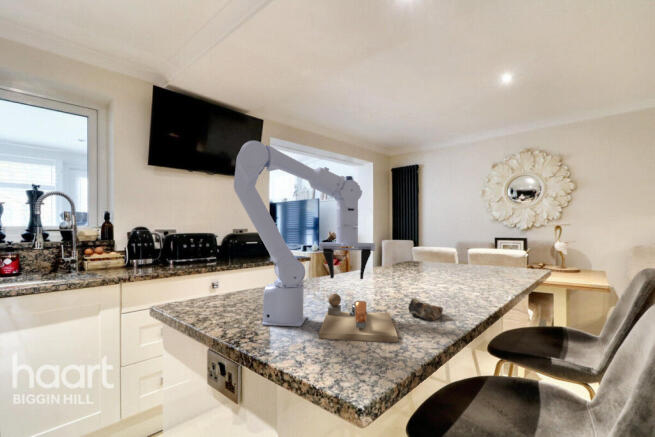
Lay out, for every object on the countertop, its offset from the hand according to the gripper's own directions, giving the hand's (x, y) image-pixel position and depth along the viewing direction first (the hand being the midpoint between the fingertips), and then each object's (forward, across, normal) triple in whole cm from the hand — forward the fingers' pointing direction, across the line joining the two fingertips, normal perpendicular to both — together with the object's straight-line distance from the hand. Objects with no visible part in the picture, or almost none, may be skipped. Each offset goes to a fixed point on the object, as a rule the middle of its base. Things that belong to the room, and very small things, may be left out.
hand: (346, 278), depth 76 cm
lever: (+8, +3, -6) cm, 10 cm away
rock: (+10, +21, +4) cm, 24 cm away
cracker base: (+10, +3, -8) cm, 13 cm away
